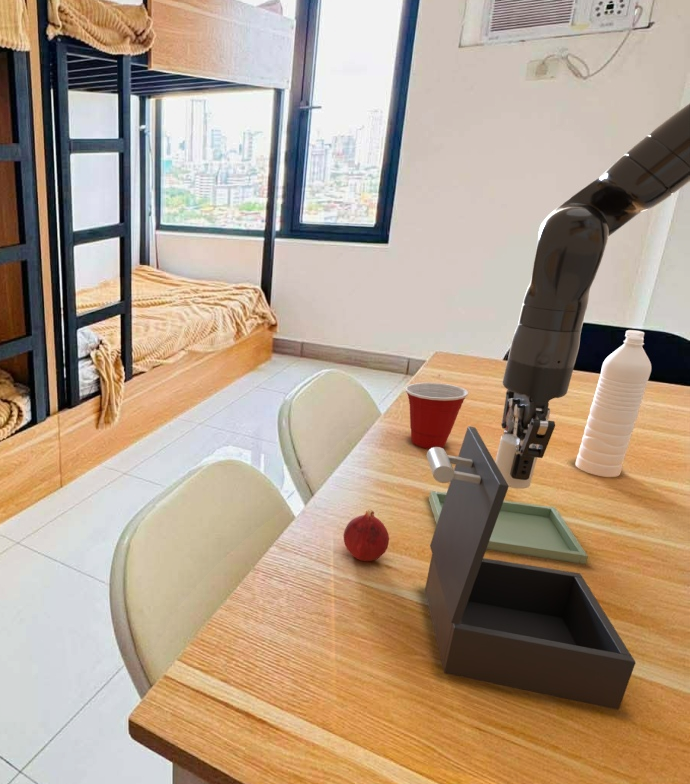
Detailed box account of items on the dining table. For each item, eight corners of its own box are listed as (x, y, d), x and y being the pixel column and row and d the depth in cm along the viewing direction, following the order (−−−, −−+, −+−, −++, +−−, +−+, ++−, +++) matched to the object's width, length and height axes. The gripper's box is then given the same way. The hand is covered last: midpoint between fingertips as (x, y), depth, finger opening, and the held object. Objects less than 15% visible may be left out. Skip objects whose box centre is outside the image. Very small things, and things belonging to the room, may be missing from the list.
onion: (389, 575, 85) (398, 524, 82) (344, 571, 86) (352, 520, 83) (379, 551, 90) (387, 502, 87) (337, 547, 91) (344, 498, 88)
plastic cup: (416, 430, 131) (425, 375, 127) (468, 448, 122) (480, 390, 118) (384, 442, 125) (393, 385, 121) (436, 462, 117) (448, 402, 113)
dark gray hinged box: (566, 620, 76) (580, 573, 74) (616, 716, 63) (636, 662, 61) (423, 595, 81) (432, 549, 79) (442, 679, 68) (454, 627, 65)
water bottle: (618, 482, 109) (661, 344, 100) (573, 472, 113) (610, 337, 104) (620, 465, 115) (659, 333, 107) (576, 455, 119) (611, 327, 110)
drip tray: (552, 518, 98) (555, 507, 97) (584, 569, 86) (588, 555, 85) (428, 501, 103) (430, 490, 102) (442, 546, 91) (444, 534, 90)
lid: (475, 427, 72) (425, 418, 74) (509, 486, 59) (447, 474, 60) (436, 547, 78) (391, 537, 80) (459, 625, 65) (404, 611, 66)
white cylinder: (524, 475, 93) (534, 436, 91) (534, 491, 89) (545, 449, 86) (488, 471, 94) (497, 431, 92) (496, 486, 90) (505, 445, 88)
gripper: (594, 376, 78) (560, 497, 83) (555, 346, 90) (528, 453, 96) (524, 370, 80) (496, 489, 86) (497, 342, 93) (474, 446, 98)
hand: (513, 469), depth 91 cm, fingers closed on white cylinder, 4 cm apart
